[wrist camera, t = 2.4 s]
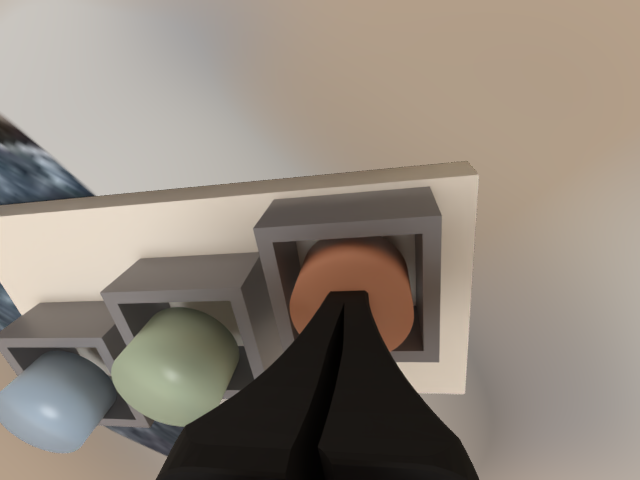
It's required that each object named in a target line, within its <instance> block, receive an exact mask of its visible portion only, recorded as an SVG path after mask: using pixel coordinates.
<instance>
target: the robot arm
mask: <svg viewBox="0 0 640 480" xmlns="http://www.w3.org/2000/svg"><path fill="white" fill-rule="evenodd" d="M156 480H479V478H478V475H477V473H476V471H475V469H474V466H473V464H472V462H471V460H470V458H469V456H468V454H467V452H466V450H465V448H464V446H463V445H462V443H461V441H460V439H459V438H458V437H457V436H456V435H455V434H454V433H453V432H452V431H451V430H450V429H449V428H448V427H447V426H446V425H445V424H444V423H443V422H442V421H441V420H440V418H439V417H438V416H437V415H436V414H435V413H434V412H433V411H432V410H431V409H430V407H429V406H428V405H427V404H426V403H425V402H424V400H423V399H422V398H421V397H420V395H419V394H418V393H417V391H416V390H415V389H414V388H413V386H412V385H411V384H410V382H409V381H408V380H407V378H406V377H405V376H404V374H403V373H402V371H401V370H400V368H399V367H398V365H397V363H396V362H395V360H394V359H393V357H392V355H391V354H390V352H389V350H388V348H387V346H386V344H385V342H384V340H383V339H382V336H381V334H380V332H379V330H378V328H377V325H376V323H375V320H374V318H373V315H372V312H371V308H370V305H369V295H368V292H366V291H365V290H358V291H330V292H329V293H328V294H327V296H326V298H325V299H324V301H323V302H322V304H321V306H320V307H319V309H318V310H317V311H316V313H315V314H314V316H313V317H312V318H311V320H310V321H309V323H308V324H307V325H306V327H305V328H304V329H303V331H302V332H301V333H300V334H299V335H298V337H297V338H296V339H295V340H294V341H293V343H292V344H291V345H290V346H289V347H288V348H287V349H286V350H285V351H284V353H283V354H282V355H281V356H280V357H279V358H278V359H277V360H276V361H275V362H274V363H273V364H272V365H271V366H270V367H268V368H267V369H266V370H265V371H264V372H263V373H262V374H260V375H259V376H258V377H257V378H256V379H254V380H253V381H252V382H251V383H250V384H248V385H247V386H246V387H244V388H243V389H242V390H240V391H239V392H238V393H236V394H235V395H234V396H232V397H231V398H229V399H228V400H226V401H225V402H223V403H222V404H220V405H219V406H217V407H216V408H214V409H213V410H211V411H209V412H208V413H206V414H204V415H203V416H201V417H199V418H198V419H196V420H194V421H193V422H191V423H189V424H187V425H186V426H185V427H184V429H183V431H182V432H181V434H180V435H179V437H178V439H177V440H176V442H175V444H174V446H173V448H172V449H171V451H170V453H169V455H168V457H167V459H166V461H165V463H164V465H163V467H162V469H161V471H160V473H159V475H158V477H157V478H156Z"/></svg>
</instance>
